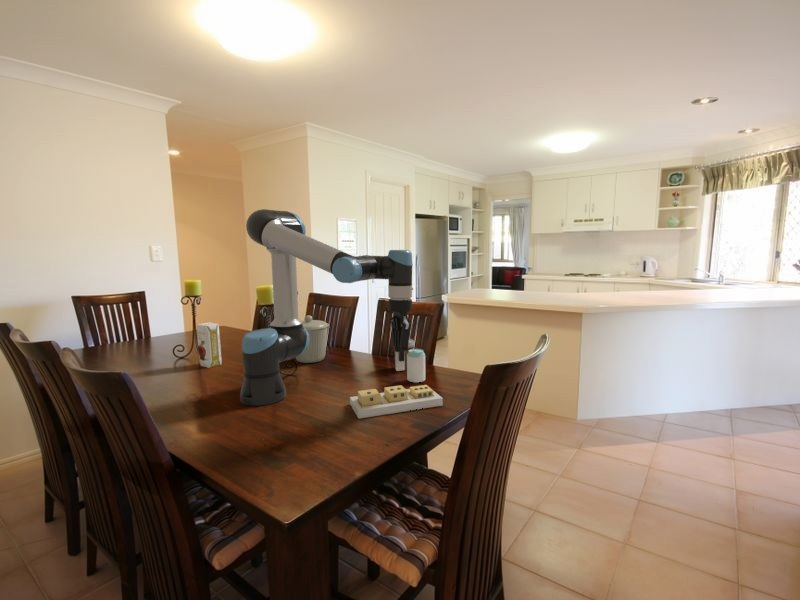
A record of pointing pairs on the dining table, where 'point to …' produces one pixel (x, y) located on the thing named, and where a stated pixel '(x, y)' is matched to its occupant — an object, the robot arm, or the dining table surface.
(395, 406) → the keypad base
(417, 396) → the three pip key
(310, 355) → the canister
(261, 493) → the dining table surface
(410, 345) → the disposable coffee cup
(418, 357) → the can
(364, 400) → the one pip key
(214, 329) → the juice carton
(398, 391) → the two pip key
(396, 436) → the dining table surface
